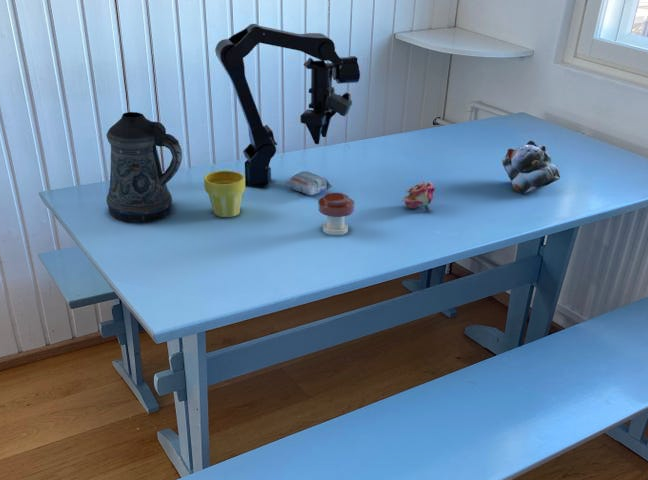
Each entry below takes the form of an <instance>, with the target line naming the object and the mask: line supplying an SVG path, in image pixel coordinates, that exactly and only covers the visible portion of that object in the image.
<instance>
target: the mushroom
mask: <svg viewBox="0 0 648 480" xmlns="http://www.w3.org/2000/svg"><path fill="white" fill-rule="evenodd" d="M317 209H318V212H319V213H320V214H322V215H323V216H326V222H324V223H323V225H322V231H323V233H325V234H327V235H329V236H343V235H346V234H347V233H348V232H349V225H348V223H346V222H345V217H348V216H350V215H353V213H354V211H355V201H354V200H353V199H352V198H350V196H348V194H345V193H342V192H330V193H326V194H325V195H324V196H322V197H321V198H319V199H318V204H317Z"/></svg>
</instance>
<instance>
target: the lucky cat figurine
mask: <svg viewBox="0 0 648 480" xmlns="http://www.w3.org/2000/svg"><path fill="white" fill-rule="evenodd" d="M501 163H502V166H503V169H504V171H505V172H506V174H507V177H508V178H509V180H510V182H511V184H512V188H513V190H514V191H515V192H517V193H520V194H522V195H524V194H526V193H530V192H532V191H535V190H537V189H539V188H543V187H545V186H547V185H550V184H553V183H554V182H556V181H559V180H560V179H561V173H560V172H561V171H560V169H559V168H558V166H557V165H555V164H554V163H552V159H551V156H550V154H549V152H548V151H547V147H546V144H541V145H539V146H538V145H537V144H536V143H535V141H534V140H529V141H528V142H527V143H526V144H523V145H520V146H519V147H517V148H515V149H513V148H508V149H507V151H506V155H505V156H504V157H503V158H502V160H501Z"/></svg>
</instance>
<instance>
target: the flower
mask: <svg viewBox="0 0 648 480" xmlns="http://www.w3.org/2000/svg"><path fill="white" fill-rule="evenodd" d="M405 192H406V194H407V193H408V194H407V195H405V197H402V199H401V201H402V202H404V207H405V206H406V208H407V209H418V208H424V209H425V212H429V211H430V209H429V207H428V205H430V204H432V203H433V201H434V194H435V186H434V185H433V181H431V180H430V181H428V182H427V183H425V182H423V180H421V183H419V184H415V185H413V186H411V187H410V188H409V189H407V190H405Z"/></svg>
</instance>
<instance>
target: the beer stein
mask: <svg viewBox="0 0 648 480" xmlns="http://www.w3.org/2000/svg"><path fill="white" fill-rule="evenodd" d="M105 135H106V139H107V142H108V143H109V145H110V176H109V177H110V178H109V179H110V180H109V188H108V192H107V195H106V205H107V207H108V214H109V215H110V216H111V217H112V218H113V219H115V220H116V221H120V222H124V223H126V224H127V223H128V224H145V223H151V222H156V221H159V220H163V219H164V218H165V217H166V216H168V215H169V214H170V213H171V211H172V204H173V197H172V194H171V192H170V190H169V188H168V185H167V183H169V182H170V181H171V179H173V177H175V175H176V174H177V173H178V171H179V169H180V167H181V164H182V160H183V150H182V147H181V145H180V142H179V140H178V139H177V138H176V137H175V136H174V135H172V134H169V133H167V129H166V127H165V125H164V124H163V123H162V122H158V121H153V120H149V119H148V118H146V116H145V115H144V113H141V112H136V111H135V112H134V111H127V112H124V113H122V115H121V117H120V119H118V121H117V122H115V123H114V124H113V125H112V126H111V127H110V128H109V129H108V130H107V133H106V134H105ZM157 147H165V148H167V149H168V150H169V151H170V153H171V157H172V158H171V161H170V164H169V165H168V167H167V168H166V170H165V171H164V172H163V167H162V163H161V160H160V156H159V152H158V148H157Z"/></svg>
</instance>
